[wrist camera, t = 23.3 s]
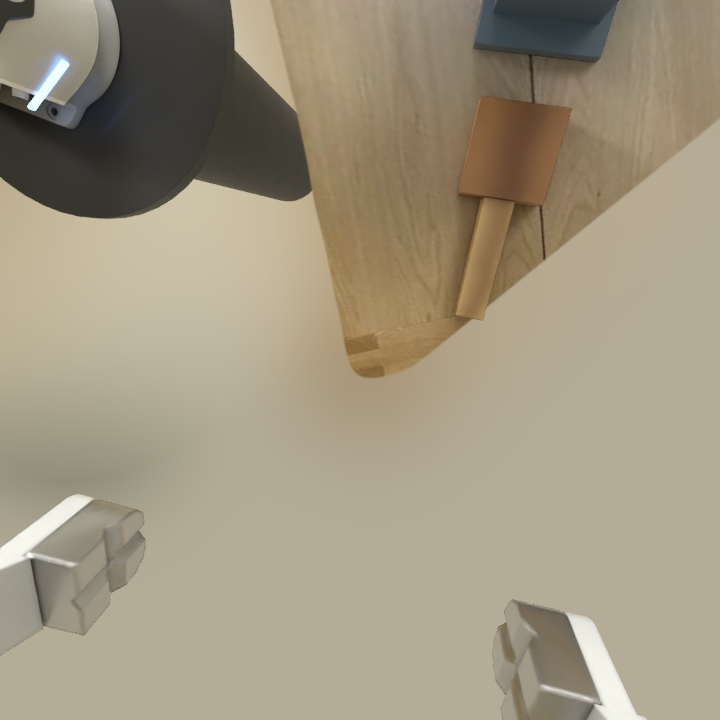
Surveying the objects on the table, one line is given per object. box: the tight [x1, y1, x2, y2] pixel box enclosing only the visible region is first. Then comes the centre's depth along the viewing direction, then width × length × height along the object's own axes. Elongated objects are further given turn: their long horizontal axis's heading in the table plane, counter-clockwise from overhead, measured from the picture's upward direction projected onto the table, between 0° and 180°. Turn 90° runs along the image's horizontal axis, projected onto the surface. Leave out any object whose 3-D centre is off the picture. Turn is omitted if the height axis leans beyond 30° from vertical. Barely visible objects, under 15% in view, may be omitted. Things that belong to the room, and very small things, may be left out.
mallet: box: [454, 96, 572, 320], centre depth 38 cm, size 8×20×2 cm, turn 171°
